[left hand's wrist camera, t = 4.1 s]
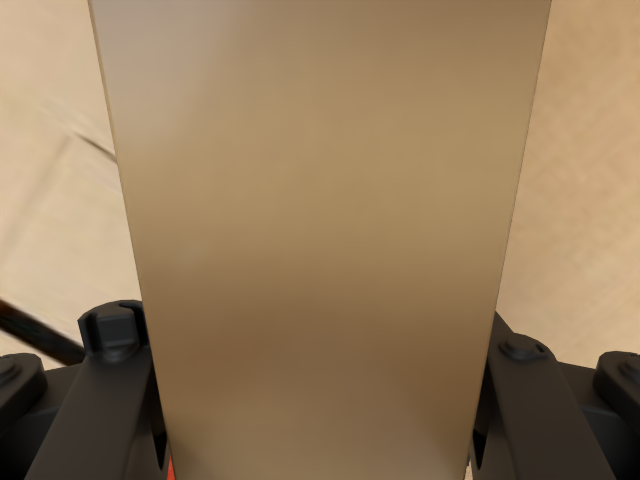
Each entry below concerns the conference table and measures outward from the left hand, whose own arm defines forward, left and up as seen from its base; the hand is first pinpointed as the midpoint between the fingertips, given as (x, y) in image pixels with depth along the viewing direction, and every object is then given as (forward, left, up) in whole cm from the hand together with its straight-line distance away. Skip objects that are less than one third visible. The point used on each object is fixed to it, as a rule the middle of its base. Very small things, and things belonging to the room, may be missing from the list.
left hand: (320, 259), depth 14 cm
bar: (+2, +6, -1) cm, 7 cm away
